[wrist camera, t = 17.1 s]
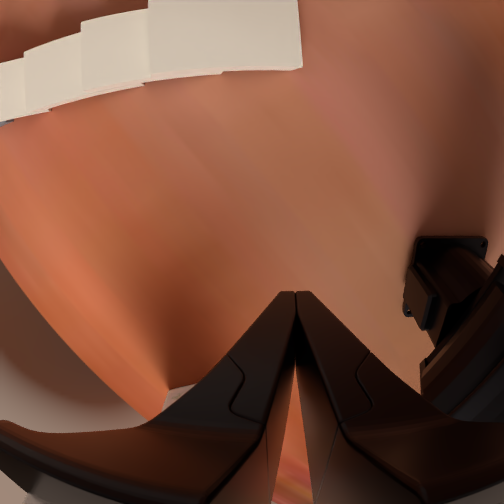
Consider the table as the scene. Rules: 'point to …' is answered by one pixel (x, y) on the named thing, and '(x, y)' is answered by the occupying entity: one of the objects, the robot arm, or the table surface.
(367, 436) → the robot arm
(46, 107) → the domino
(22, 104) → the domino
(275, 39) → the domino
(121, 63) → the domino
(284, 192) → the table surface
